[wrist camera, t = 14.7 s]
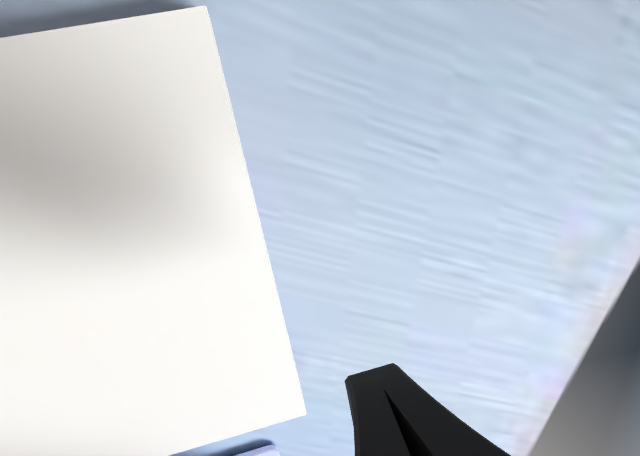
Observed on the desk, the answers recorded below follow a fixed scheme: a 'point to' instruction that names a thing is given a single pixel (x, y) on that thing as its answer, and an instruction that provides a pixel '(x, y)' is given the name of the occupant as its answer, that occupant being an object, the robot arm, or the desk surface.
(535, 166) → the desk surface
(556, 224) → the desk surface
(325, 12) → the desk surface
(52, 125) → the white board
